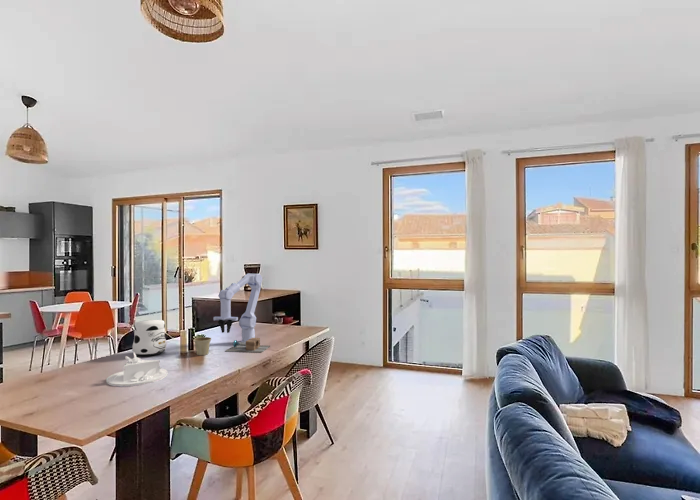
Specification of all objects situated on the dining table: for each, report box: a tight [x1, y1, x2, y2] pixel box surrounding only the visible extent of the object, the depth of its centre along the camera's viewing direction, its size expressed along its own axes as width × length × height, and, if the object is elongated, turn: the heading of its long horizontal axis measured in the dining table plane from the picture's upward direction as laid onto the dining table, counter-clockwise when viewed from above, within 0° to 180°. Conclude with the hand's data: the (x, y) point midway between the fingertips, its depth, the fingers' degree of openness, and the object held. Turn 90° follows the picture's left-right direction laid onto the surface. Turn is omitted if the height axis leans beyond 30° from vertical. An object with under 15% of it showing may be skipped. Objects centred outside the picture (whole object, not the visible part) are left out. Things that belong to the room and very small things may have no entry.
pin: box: [232, 339, 246, 347], centre depth 242 cm, size 4×12×4 cm, turn 83°
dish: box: [106, 351, 169, 388], centre depth 187 cm, size 25×25×11 cm
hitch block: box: [224, 337, 271, 354], centre depth 242 cm, size 16×22×6 cm
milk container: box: [132, 319, 168, 357], centre depth 230 cm, size 17×17×18 cm
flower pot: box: [193, 336, 212, 356], centre depth 230 cm, size 9×9×9 cm
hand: (225, 332), depth 244 cm, fingers open, 3 cm apart
